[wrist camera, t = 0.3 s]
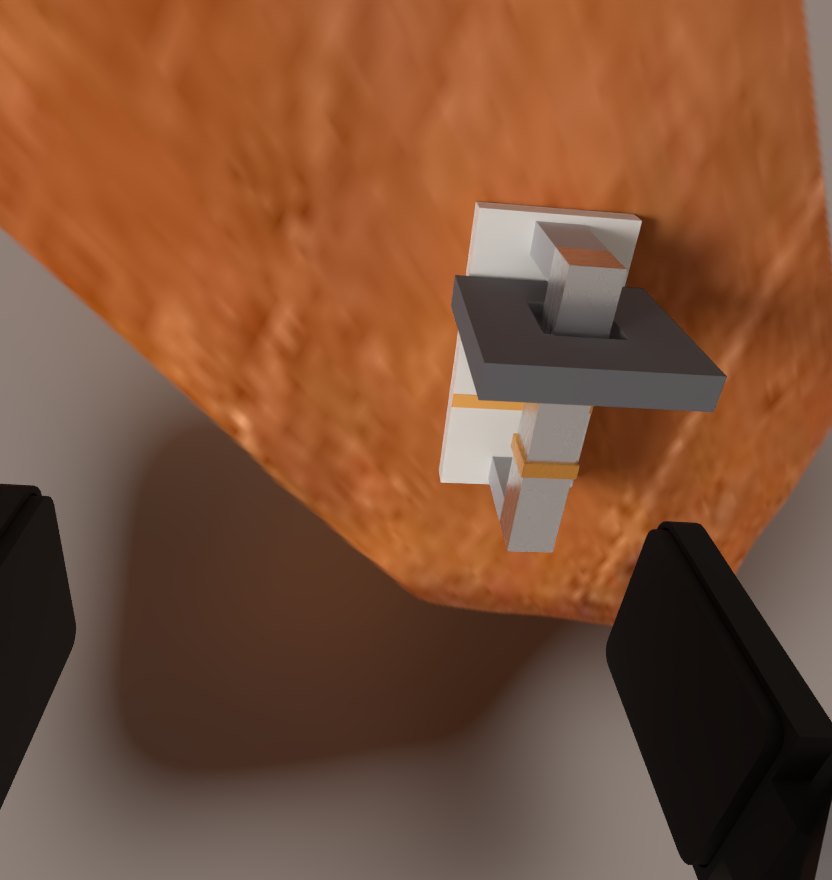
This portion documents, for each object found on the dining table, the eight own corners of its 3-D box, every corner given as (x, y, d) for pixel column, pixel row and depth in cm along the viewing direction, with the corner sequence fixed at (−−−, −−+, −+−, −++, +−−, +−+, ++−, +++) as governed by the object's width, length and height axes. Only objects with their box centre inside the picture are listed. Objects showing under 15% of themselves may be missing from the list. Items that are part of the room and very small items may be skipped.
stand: (475, 201, 43) (493, 232, 37) (634, 214, 44) (673, 246, 38) (438, 470, 53) (447, 525, 48) (566, 475, 54) (589, 530, 49)
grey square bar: (551, 245, 38) (566, 266, 35) (611, 249, 38) (631, 271, 35) (496, 519, 48) (504, 553, 45) (544, 521, 48) (556, 554, 46)
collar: (455, 275, 43) (484, 362, 33) (643, 288, 44) (726, 376, 34) (451, 306, 44) (478, 400, 34) (634, 318, 45) (713, 412, 35)
